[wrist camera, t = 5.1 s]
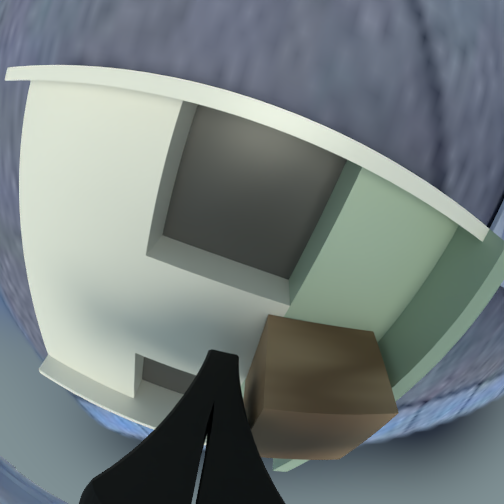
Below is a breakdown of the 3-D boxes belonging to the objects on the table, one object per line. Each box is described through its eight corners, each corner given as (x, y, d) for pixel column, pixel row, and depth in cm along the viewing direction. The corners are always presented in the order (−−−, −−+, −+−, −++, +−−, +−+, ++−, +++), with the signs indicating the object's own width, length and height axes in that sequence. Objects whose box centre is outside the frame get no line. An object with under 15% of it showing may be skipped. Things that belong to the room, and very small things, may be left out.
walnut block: (373, 331, 10) (398, 413, 7) (331, 390, 12) (339, 459, 9) (268, 314, 10) (263, 408, 7) (245, 380, 12) (236, 454, 9)
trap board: (454, 204, 9) (518, 254, 5) (287, 419, 18) (286, 471, 14) (64, 67, 8) (-13, 69, 4) (62, 340, 16) (34, 382, 12)
